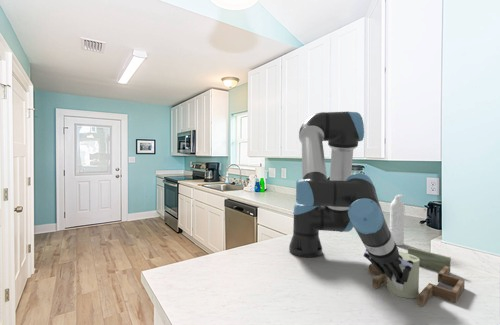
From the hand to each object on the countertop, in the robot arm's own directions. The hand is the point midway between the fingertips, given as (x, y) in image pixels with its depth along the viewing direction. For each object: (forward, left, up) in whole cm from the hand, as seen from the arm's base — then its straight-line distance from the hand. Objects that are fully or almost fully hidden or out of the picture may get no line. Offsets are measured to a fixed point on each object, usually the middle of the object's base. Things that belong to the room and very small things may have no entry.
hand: (400, 285), depth 80 cm
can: (+4, +4, -4) cm, 7 cm away
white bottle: (+35, +49, -4) cm, 60 cm away
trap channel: (+13, +11, -4) cm, 18 cm away
